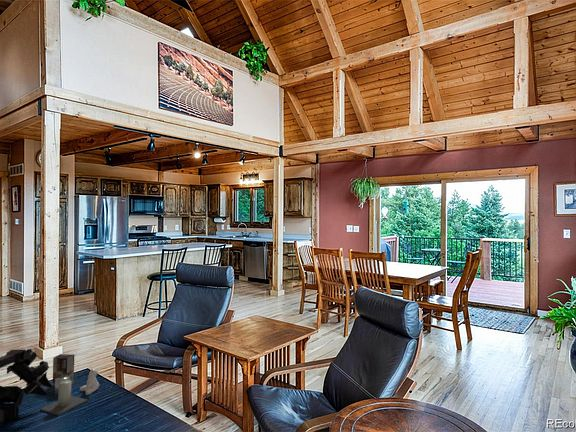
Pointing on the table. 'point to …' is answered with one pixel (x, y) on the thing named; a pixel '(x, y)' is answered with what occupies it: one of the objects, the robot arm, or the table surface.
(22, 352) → the robot arm
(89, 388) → the sitting furry creature
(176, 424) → the table surface
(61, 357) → the coffee box
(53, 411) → the mat
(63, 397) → the light bulb
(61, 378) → the tin
